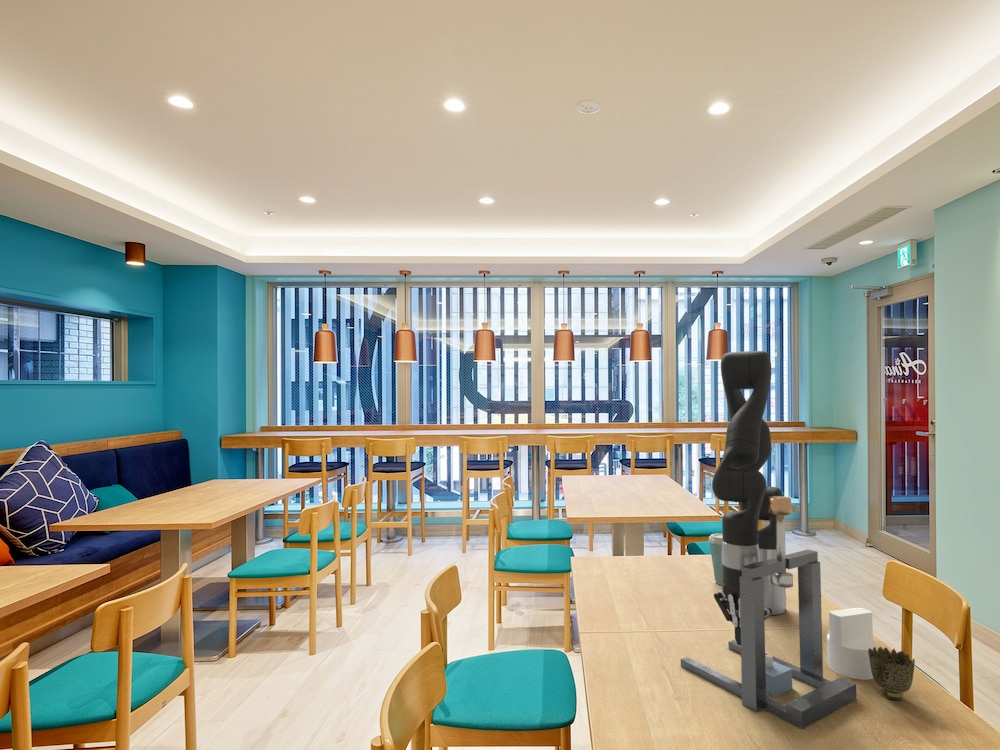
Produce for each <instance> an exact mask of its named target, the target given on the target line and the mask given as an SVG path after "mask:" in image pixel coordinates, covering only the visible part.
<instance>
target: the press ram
mask: <svg viewBox="0 0 1000 750" xmlns="http://www.w3.org/2000/svg"><path fill="white" fill-rule="evenodd" d="M769 513H771V514H775V515H776V549H777V560H781V561H783V571H782V572H778V573H775V574H771V575H770V576H771V584H772V585H774V586H777V587H784V588H786V589H787V588H788V589H790V588H793V587H794V575H793V573H792V572H791V573H790V572H789V571H788V572H787V568H786V555H787V553H786V518H785V517H786V516H791V515H792V498H791V497H787V496H783V497H781V496H771V497H769Z"/></svg>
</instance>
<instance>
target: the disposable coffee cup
mask: <svg viewBox="0 0 1000 750" xmlns="http://www.w3.org/2000/svg"><path fill="white" fill-rule="evenodd" d="M708 542H709V547H710V555H711V560H712V561H711V562H712V569H713V574H714V581H715V583H716V584H718V585H720V586H722V587H723V586H724V583H723V581H722V544H723V532H721V533H712V534H710V535H709V537H708Z"/></svg>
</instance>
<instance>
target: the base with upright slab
mask: <svg viewBox="0 0 1000 750" xmlns="http://www.w3.org/2000/svg"><path fill="white" fill-rule="evenodd" d="M873 630H874V629H873V612H872V611H871V610H869V609H866V608H863V607H860V606H859V607H852V608H851V607H850V608H846V609H845V608H844V609H838V610H836V609H835V610H831V611H830V610H829V611H828V633H827V635H826V655H827V656H826V657H827V663H826V664H827V666H828V668H829V669H830V670H832V671H833V672H835V673H837V674H839V675H841V676H844V677H846V678H851V679H856V680H865V681H867V680H872V679H873V680H874V678H873V676H872V672H871V667H870V660H869V654H868V650H869V648H870V649H872V651H873V648H874V647H875V648H876V649H877V643H876V642H875V641H874V635H873V634H874V633H873Z"/></svg>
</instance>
